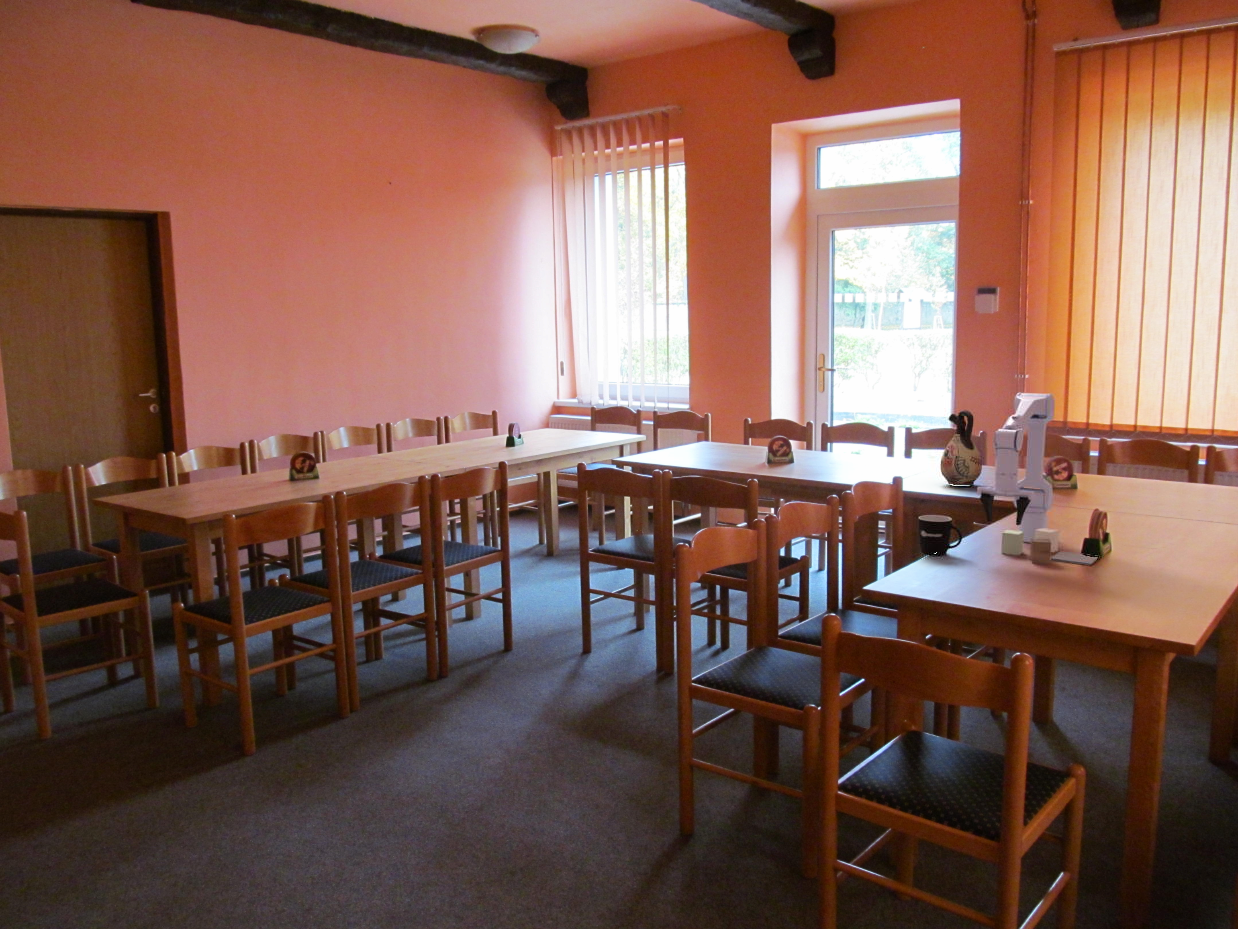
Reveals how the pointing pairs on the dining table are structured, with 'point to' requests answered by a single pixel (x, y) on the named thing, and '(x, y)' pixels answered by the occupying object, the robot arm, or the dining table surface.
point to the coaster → (1074, 558)
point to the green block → (1012, 542)
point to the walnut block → (1040, 550)
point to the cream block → (1049, 536)
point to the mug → (936, 534)
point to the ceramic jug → (961, 453)
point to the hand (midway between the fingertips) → (1004, 522)
